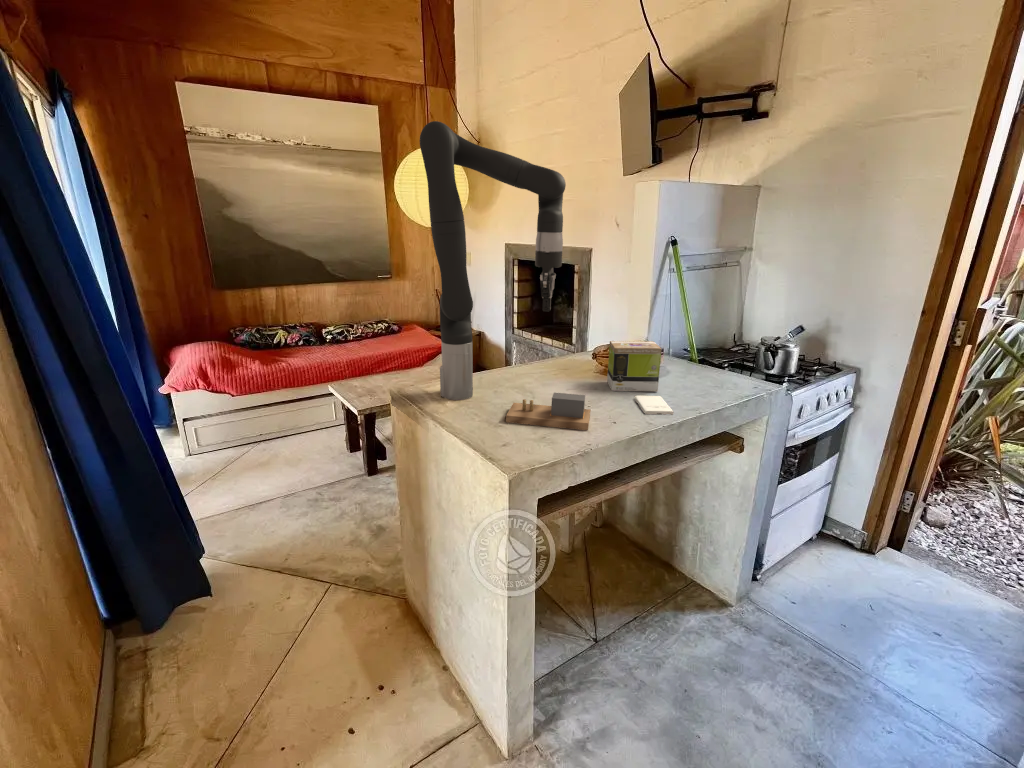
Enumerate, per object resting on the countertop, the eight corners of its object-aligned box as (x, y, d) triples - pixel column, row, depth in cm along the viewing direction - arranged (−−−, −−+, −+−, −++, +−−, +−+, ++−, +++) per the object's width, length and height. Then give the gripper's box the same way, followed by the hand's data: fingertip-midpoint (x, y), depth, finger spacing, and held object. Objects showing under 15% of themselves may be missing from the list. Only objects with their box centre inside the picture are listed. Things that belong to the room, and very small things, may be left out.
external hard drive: (660, 400, 153) (673, 416, 141) (634, 400, 153) (644, 415, 141) (661, 395, 152) (674, 410, 140) (634, 395, 152) (645, 410, 140)
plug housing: (551, 415, 133) (551, 398, 131) (553, 409, 137) (553, 392, 136) (583, 418, 131) (584, 400, 130) (584, 412, 136) (585, 395, 134)
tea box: (650, 382, 168) (655, 340, 163) (657, 392, 158) (663, 348, 154) (606, 381, 168) (609, 339, 163) (610, 391, 159) (614, 347, 154)
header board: (506, 422, 133) (506, 405, 132) (513, 409, 143) (513, 392, 141) (588, 430, 129) (589, 412, 128) (590, 416, 139) (591, 399, 137)
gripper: (539, 247, 144) (537, 306, 150) (531, 250, 132) (529, 314, 137) (564, 248, 143) (561, 307, 148) (559, 251, 130) (556, 316, 136)
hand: (546, 311), depth 143 cm, fingers closed
